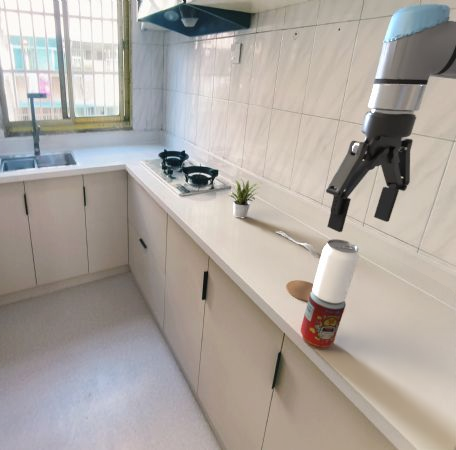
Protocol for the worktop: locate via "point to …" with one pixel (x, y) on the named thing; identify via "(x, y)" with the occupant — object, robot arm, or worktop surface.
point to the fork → (299, 243)
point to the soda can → (321, 322)
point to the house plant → (242, 199)
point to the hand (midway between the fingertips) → (358, 224)
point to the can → (335, 271)
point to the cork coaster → (299, 289)
